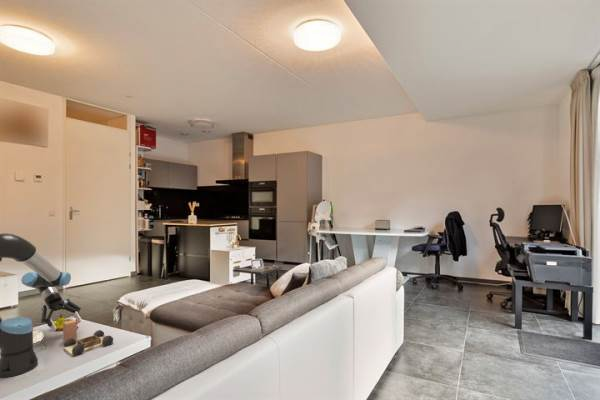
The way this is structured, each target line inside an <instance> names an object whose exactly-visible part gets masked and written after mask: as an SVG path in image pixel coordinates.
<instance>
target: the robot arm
mask: <svg viewBox="0 0 600 400" xmlns="http://www.w3.org/2000/svg"><path fill="white" fill-rule="evenodd" d="M2 259H13V260H14V261H16V262H19V263H23V265H25V266H27V267H28V268H29V269H30V270H32V271H28V272H27V273H25V274H24V275H22V277H21V284H23V285H25V286H26V287H30V288H33V289H35V290H38V292H39V293H40V295H41V297H42V299H43V300H44V303H45V304H44V305H43V306H42V307H41V311H42V314H41V321H40V322H41V323H42V324H43V323H44V324H46V325H47V327H49V328H50V327H51V328H50V329H51V331H52V332H54V333H55V332H56V331H57V330H56V329H57V328H56V326H55V324H54V322H53V321H54V320H53V319H51V317H52V316H53V313H54V312H57V311H60V310H65V311H67V312H70V313H72V314H73V317H74V318H75V320H77V321H78V324H81V322H82V320H83V319H82V317H81V313H80V310H81V307H80V306H78V305H77V304H75V303H74V302H72V301H71V300H70V298H67V299H65V300H63V298H62V296H61V294H60V292H59V290H58V289H57V287H63V286H67V285H69V284H70V283H71V280H72V276H71V273H69V272H67V271H63V272H62V271H61V270H60V269H58V268H57V267H56V266H55V265H53V264H52V263H51V262H50V261H49V260H48V259H47V258H46V257H44V256H43V255H42V254H41V253H40V252H39V251H37V248H36V246H35V245H34V244H33V243H31V242H30V241H29V240H27V239H25V238H23V237H21V236H20V235H19V236H18V235H16V234H14V233H8V232H7V233H5V232H4V233H0V263H2V262H3V260H2ZM48 309H49V313H48V315H47V311H48ZM38 364H39V359H38V356H37V355H36V353H35V351H34V326H33V321H32V319H31V318H28V317H22V316H20V317H14V318H13V317H11V318H7V319H3V317H2V316H1V315H0V378H10V377H15V376H18V375H22V374H25V373H27V372H30V371H32V370H34V369H35V368H36V367H37V366H38Z"/></svg>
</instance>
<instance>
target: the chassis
mask: <svg viewBox="0 0 600 400" xmlns="http://www.w3.org/2000/svg"><path fill="white" fill-rule="evenodd" d="M112 344H114V337H113V336H111V335H105V332H104V331H103V330H101V329H98V330H96V331H95V332H94V333H93V334H92V335H91V336H87V337H82V338H80V339H77V343H76V341H75V340H74V339H73V338H70V339H68V340H66V341H65V343H64V344H63V346H64V347H63V351H64V352H65V353H66V354H68V356H69V357H71V358H73V357H74V356H80V355H82V354H84V353H86V352H90V351H94V350H97V349H99V348H102V347H105V346H106V347H107V346H111V345H112Z"/></svg>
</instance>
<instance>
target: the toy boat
mask: <svg viewBox="0 0 600 400" xmlns="http://www.w3.org/2000/svg"><path fill="white" fill-rule="evenodd" d="M71 320H74V319H73V318H70V317H69V318H68V317H65V316H63V314H62V313H60V316H59V317H58V318H57V320H52V321H53V322H54V324H55V326H56V328H57V329H56V330H55V331H63V322H67V321H71ZM75 321H76V329H78V328H79V326H78V324H79V323H78V321H77V320H76V319H75ZM49 328H50V329H51V327H49Z"/></svg>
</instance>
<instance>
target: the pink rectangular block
mask: <svg viewBox="0 0 600 400" xmlns="http://www.w3.org/2000/svg"><path fill="white" fill-rule="evenodd" d="M70 320H71V321H67V322H63V330H62V333H63V334H62V340H63V345H64V343H65V341H66V340H68V339H70V338H73V339H74V340H75V341H76V344H77V340H78V339H77V334H78V333H77V332H78V331H77V327H76V326H77V325H76V321H75V320H76V319H75V320H74V319H73V320H72V319H70Z"/></svg>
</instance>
